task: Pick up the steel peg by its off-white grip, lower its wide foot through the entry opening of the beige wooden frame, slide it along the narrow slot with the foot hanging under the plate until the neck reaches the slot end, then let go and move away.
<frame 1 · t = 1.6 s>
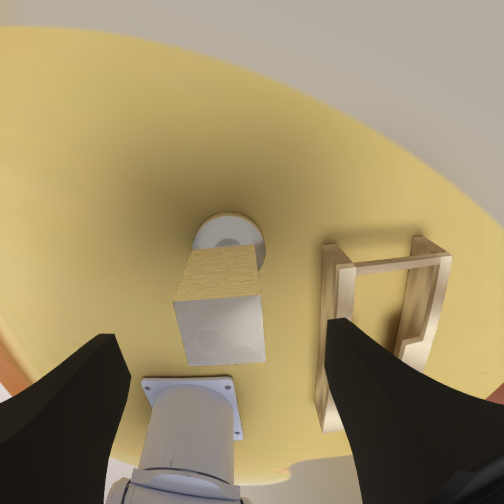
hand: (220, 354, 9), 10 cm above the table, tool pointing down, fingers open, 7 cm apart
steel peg: (229, 245, 19), on the table
beige wooden frame: (367, 329, 22), on the table
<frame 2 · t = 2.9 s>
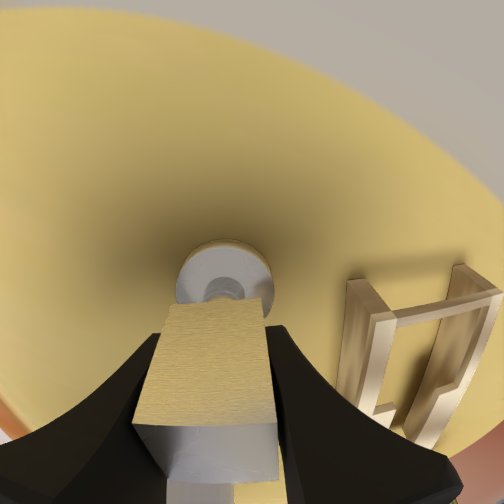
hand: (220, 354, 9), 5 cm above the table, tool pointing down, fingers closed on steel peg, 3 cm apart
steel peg: (225, 282, 14), on the table, touching gripper
beige wooden frame: (392, 372, 17), on the table
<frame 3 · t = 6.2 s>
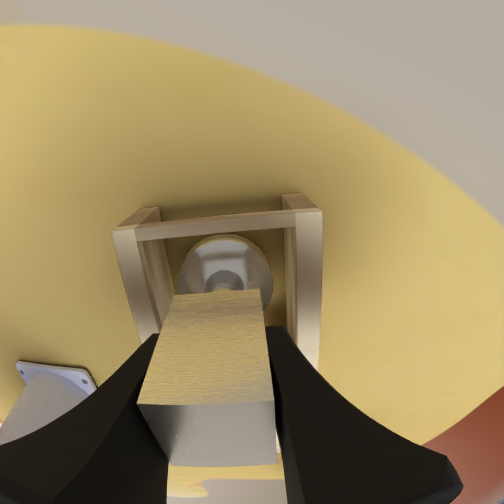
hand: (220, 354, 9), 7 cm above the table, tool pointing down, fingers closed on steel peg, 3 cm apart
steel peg: (225, 276, 15), point 1 cm above the table, touching gripper
beige wooden frame: (234, 329, 17), on the table
when the fingers open (7 cm above the table, at t = 9.8 s): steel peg stays where it is, on the table.
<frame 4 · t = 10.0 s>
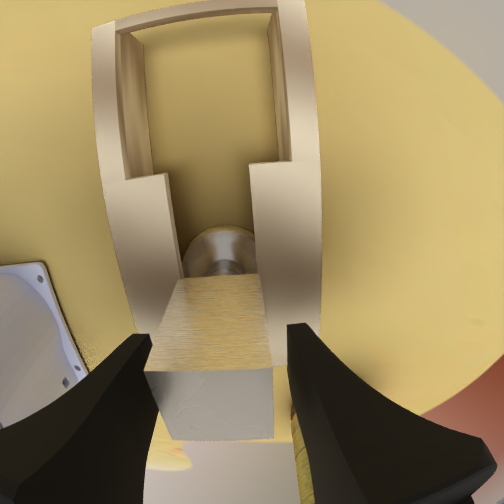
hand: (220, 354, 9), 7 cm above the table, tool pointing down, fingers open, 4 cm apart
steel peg: (226, 266, 16), on the table
sauce bottle: (326, 399, 20), on the table
beige wooden frame: (216, 182, 14), on the table
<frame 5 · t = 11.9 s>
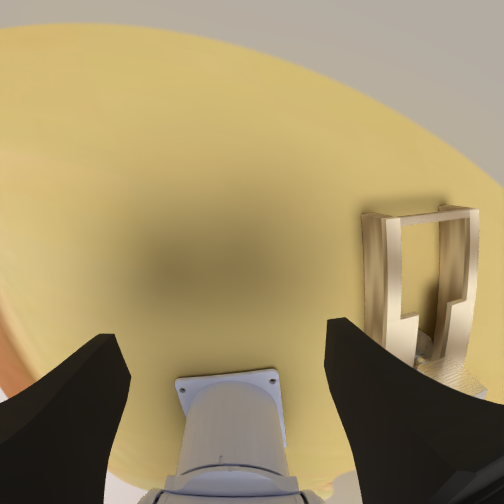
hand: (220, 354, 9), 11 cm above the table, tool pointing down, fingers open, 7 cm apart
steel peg: (405, 351, 22), on the table
beige wooden frame: (409, 304, 21), on the table
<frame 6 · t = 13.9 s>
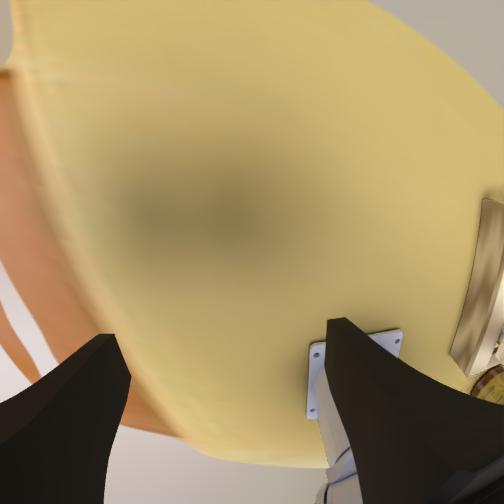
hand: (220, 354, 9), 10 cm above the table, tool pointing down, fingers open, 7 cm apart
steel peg: (485, 316, 23), on the table
sauce bottle: (485, 380, 27), on the table
beige wooden frame: (496, 277, 21), on the table
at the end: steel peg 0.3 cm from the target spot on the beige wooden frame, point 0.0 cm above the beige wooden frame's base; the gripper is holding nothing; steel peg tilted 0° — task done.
